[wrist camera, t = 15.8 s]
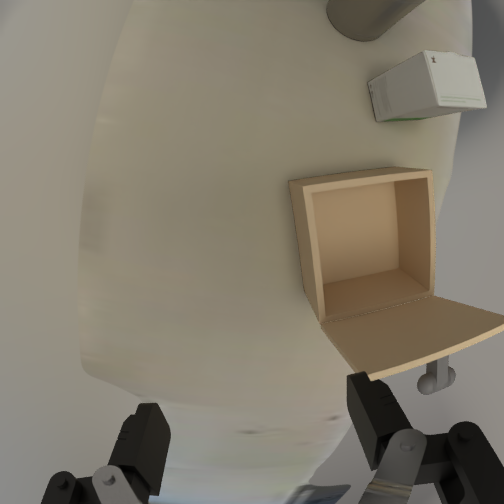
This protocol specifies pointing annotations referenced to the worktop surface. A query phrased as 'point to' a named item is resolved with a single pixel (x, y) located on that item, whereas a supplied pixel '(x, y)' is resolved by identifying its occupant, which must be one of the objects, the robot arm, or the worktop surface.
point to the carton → (365, 239)
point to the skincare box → (427, 87)
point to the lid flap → (412, 338)
